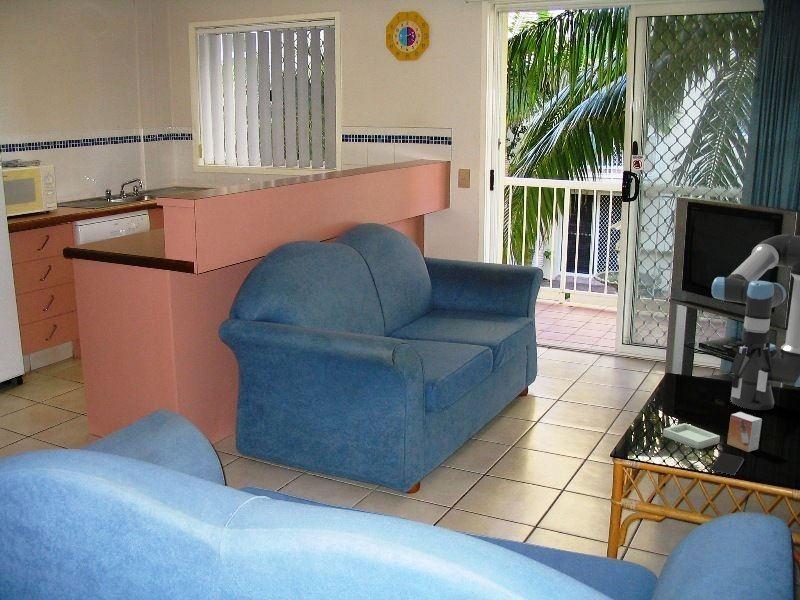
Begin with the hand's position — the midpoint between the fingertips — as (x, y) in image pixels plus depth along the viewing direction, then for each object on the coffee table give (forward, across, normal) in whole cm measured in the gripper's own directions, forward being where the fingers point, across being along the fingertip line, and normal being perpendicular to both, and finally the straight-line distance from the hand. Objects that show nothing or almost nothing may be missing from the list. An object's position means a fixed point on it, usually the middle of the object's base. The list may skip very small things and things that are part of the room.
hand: (748, 394), depth 279 cm
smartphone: (+19, +18, +7) cm, 27 cm away
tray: (+18, +9, -13) cm, 24 cm away
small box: (+18, 0, 0) cm, 18 cm away
